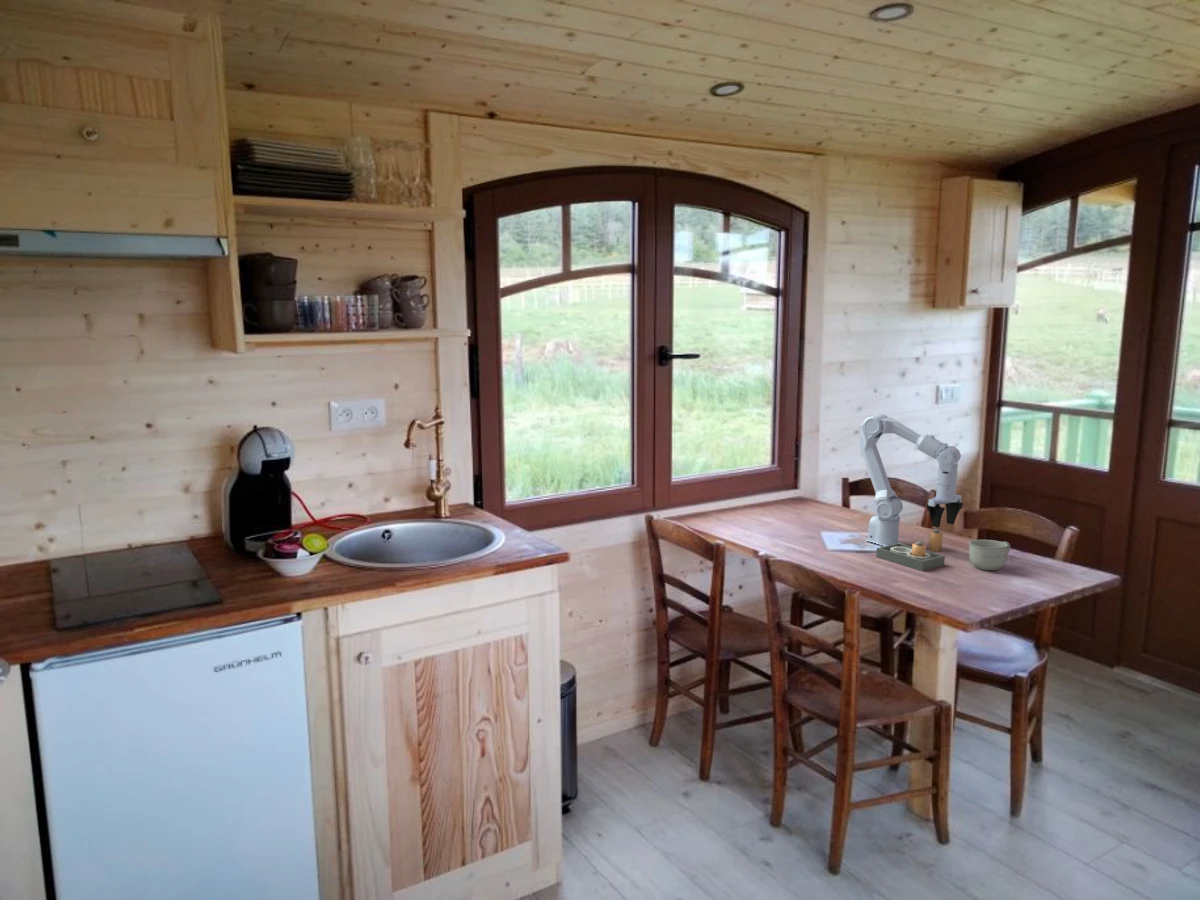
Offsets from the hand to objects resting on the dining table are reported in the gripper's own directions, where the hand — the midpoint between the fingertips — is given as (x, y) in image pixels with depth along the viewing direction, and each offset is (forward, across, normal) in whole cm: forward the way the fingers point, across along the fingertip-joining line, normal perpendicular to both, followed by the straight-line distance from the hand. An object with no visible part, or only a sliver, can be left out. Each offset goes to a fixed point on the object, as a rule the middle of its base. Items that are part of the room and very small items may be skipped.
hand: (943, 525), depth 268 cm
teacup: (+10, 0, -18) cm, 20 cm away
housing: (+10, -16, 0) cm, 19 cm away
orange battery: (+10, +2, +4) cm, 10 cm away
